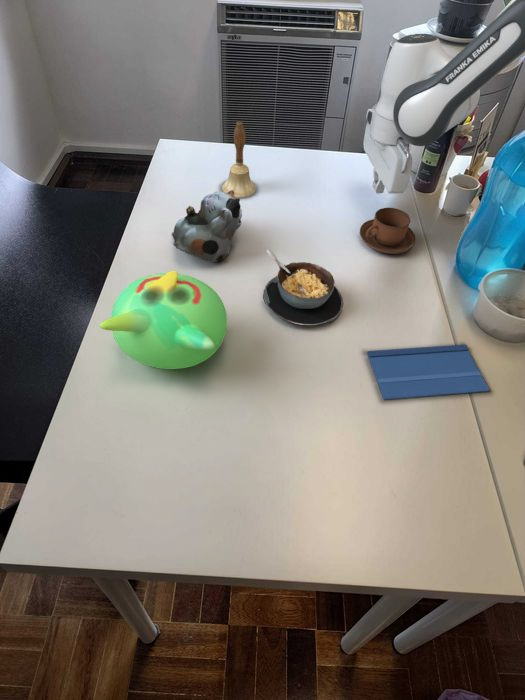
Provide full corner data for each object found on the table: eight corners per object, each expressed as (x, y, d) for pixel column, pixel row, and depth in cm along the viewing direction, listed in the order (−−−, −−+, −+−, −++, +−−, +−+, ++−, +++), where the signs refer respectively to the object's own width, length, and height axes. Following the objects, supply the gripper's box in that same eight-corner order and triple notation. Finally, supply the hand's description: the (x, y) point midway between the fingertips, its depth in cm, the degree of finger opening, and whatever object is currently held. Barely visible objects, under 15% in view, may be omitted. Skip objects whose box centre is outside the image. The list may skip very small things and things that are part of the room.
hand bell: (258, 197, 112) (261, 130, 100) (223, 198, 111) (222, 130, 99) (253, 179, 117) (256, 113, 105) (220, 180, 116) (219, 113, 104)
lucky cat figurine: (171, 228, 102) (195, 166, 96) (222, 249, 106) (248, 191, 99) (167, 253, 89) (193, 184, 83) (225, 276, 93) (254, 211, 87)
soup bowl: (287, 340, 82) (291, 310, 77) (247, 285, 91) (248, 254, 86) (357, 315, 87) (366, 285, 82) (312, 265, 96) (317, 234, 91)
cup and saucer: (393, 266, 97) (402, 241, 93) (347, 240, 102) (352, 216, 98) (423, 242, 103) (432, 218, 99) (378, 219, 108) (384, 195, 104)
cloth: (464, 346, 83) (465, 343, 83) (488, 391, 77) (490, 389, 77) (366, 352, 81) (367, 350, 81) (383, 400, 75) (384, 397, 74)
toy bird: (231, 320, 85) (231, 255, 74) (220, 397, 74) (218, 333, 63) (132, 312, 85) (117, 246, 74) (106, 388, 74) (84, 322, 63)
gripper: (426, 152, 88) (405, 216, 99) (393, 106, 102) (377, 167, 112) (394, 152, 88) (377, 216, 98) (365, 106, 101) (352, 167, 111)
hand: (377, 189), depth 105 cm, fingers closed
